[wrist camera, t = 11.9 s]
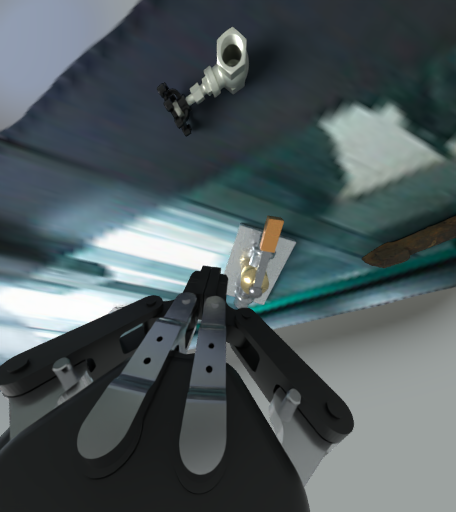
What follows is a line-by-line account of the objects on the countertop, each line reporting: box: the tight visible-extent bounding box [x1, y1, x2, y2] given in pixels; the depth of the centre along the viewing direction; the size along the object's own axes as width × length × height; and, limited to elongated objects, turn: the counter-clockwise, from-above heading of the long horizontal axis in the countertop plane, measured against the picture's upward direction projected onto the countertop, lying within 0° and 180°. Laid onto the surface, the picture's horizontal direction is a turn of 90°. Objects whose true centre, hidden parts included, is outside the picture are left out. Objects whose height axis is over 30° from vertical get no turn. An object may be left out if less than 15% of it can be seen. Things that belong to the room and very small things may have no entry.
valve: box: [157, 27, 249, 137], centre depth 24 cm, size 7×7×12 cm
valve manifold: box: [224, 223, 296, 308], centre depth 36 cm, size 12×18×8 cm, turn 164°
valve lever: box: [249, 216, 284, 299], centre depth 29 cm, size 15×2×2 cm, turn 172°
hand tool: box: [362, 216, 456, 268], centre depth 32 cm, size 19×4×5 cm, turn 121°
